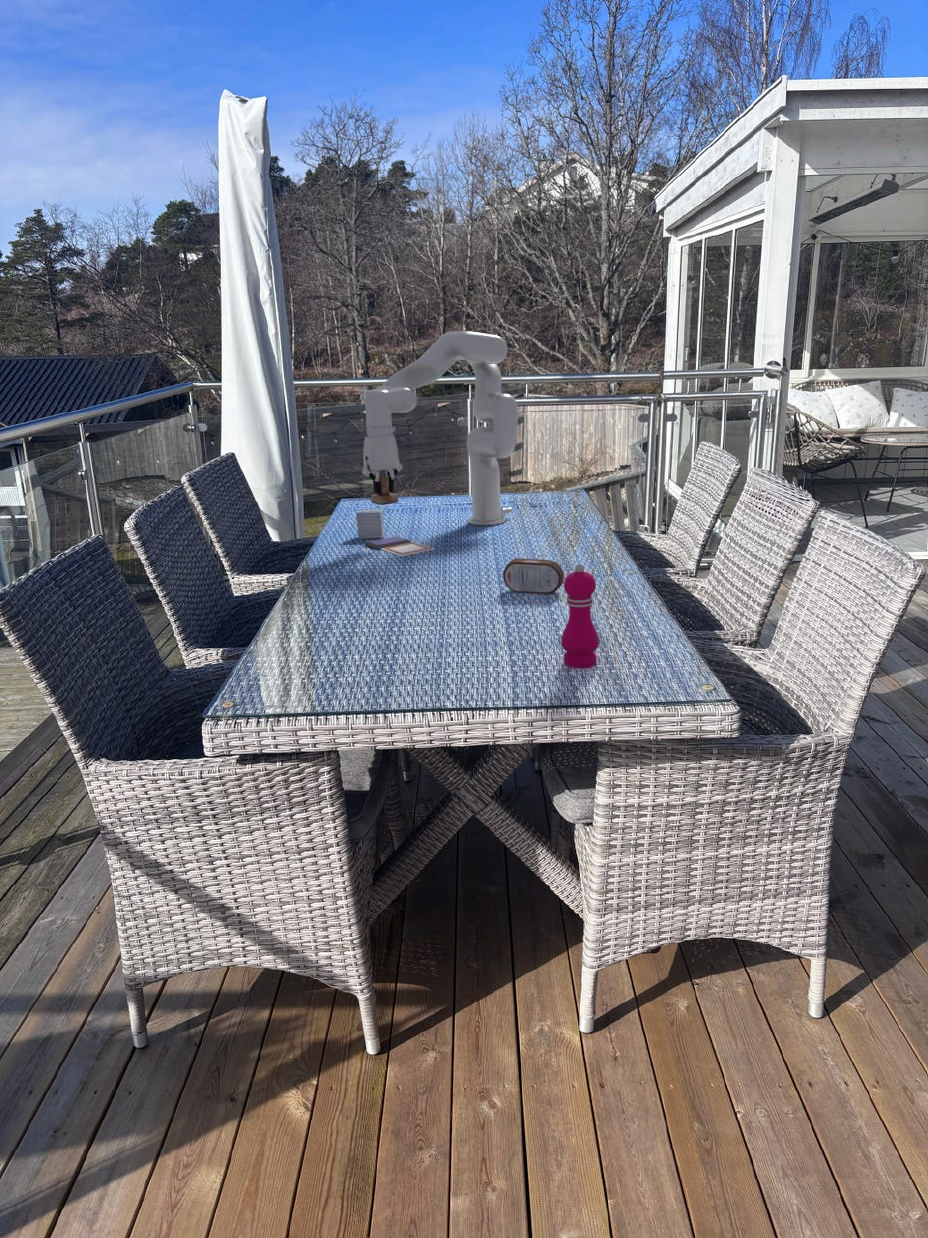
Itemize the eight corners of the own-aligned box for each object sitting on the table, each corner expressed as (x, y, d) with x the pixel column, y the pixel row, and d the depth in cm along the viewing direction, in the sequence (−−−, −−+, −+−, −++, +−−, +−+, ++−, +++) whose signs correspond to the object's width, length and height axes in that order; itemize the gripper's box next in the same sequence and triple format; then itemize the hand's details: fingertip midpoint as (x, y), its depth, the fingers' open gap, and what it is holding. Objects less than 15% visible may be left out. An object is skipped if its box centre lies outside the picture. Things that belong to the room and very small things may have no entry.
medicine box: (385, 535, 289) (383, 509, 286) (382, 538, 285) (380, 512, 282) (361, 536, 290) (358, 509, 287) (358, 539, 286) (356, 512, 283)
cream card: (414, 542, 277) (414, 541, 277) (435, 549, 268) (435, 547, 267) (380, 549, 271) (380, 547, 271) (400, 556, 261) (400, 554, 261)
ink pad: (398, 539, 283) (398, 535, 283) (411, 543, 277) (410, 539, 277) (364, 545, 277) (364, 541, 277) (377, 549, 271) (376, 545, 270)
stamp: (388, 499, 277) (386, 474, 274) (398, 502, 272) (396, 476, 270) (371, 502, 274) (369, 476, 271) (380, 505, 269) (379, 478, 266)
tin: (564, 592, 220) (564, 559, 217) (561, 596, 217) (561, 562, 214) (505, 589, 225) (504, 556, 222) (502, 592, 222) (501, 560, 219)
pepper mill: (558, 657, 177) (557, 560, 171) (594, 655, 177) (594, 557, 171) (565, 671, 170) (564, 569, 164) (602, 668, 171) (603, 567, 164)
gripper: (397, 428, 274) (401, 488, 279) (349, 433, 265) (354, 495, 271) (409, 430, 268) (413, 490, 273) (361, 435, 259) (365, 498, 265)
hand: (384, 492), depth 272 cm, fingers closed on stamp, 3 cm apart
